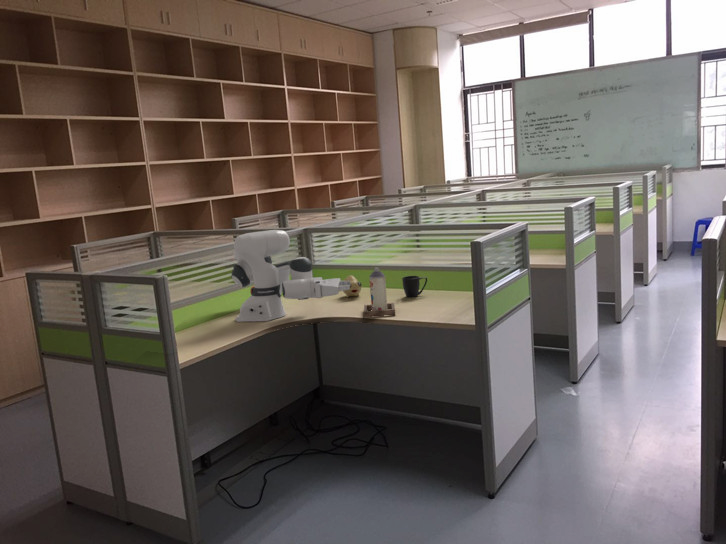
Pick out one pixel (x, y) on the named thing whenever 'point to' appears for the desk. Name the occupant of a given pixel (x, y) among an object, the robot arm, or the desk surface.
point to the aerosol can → (378, 290)
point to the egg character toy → (353, 286)
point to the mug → (412, 286)
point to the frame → (379, 311)
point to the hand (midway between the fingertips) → (350, 285)
